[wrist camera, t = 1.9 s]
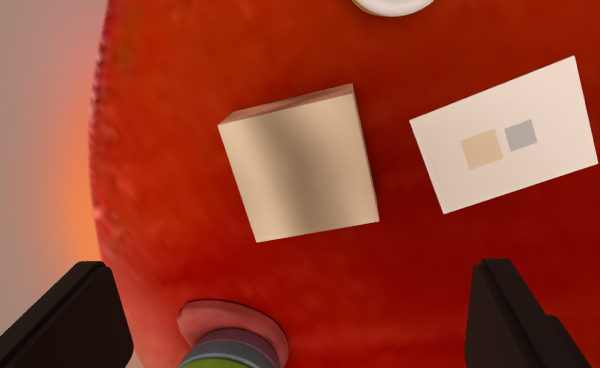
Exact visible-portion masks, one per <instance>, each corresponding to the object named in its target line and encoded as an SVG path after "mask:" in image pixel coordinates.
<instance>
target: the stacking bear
mask: <svg viewBox="0 0 600 368" xmlns="http://www.w3.org/2000/svg"><path fill="white" fill-rule="evenodd" d="M177 324H178V326H179V327H178V328H179V331H180V333H181V335H182V336H183V338H184V339H185V340H186V342H187V343H188V344H189V346H190V347H191V349H192V350H191V351H190V352H189V353H188V354H187V355H186V356H185V358H184V359H183V360H182V362H181V363H180V364H179V366H178V367H177V368H284V367H285V364H286V362H287V359H288V353H289V349H288V342H287V339H286V337H285V335H284V333H283V331H282V330H281V328H280V327H279V326H278V325H277V324H276V323H275V322H274V321H273V320H272V319H270V318H269V317H267V316H266V315H264V314H262V313H260V312H258V311H256V310H253V309H251V308H248V307H245V306H242V305H239V304H235V303H230V302H225V301H217V300H201V301H192V302H189V303H186V304H185V305H184V307H183V309H181V310H180V311H179V313H178V316H177Z"/></svg>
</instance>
